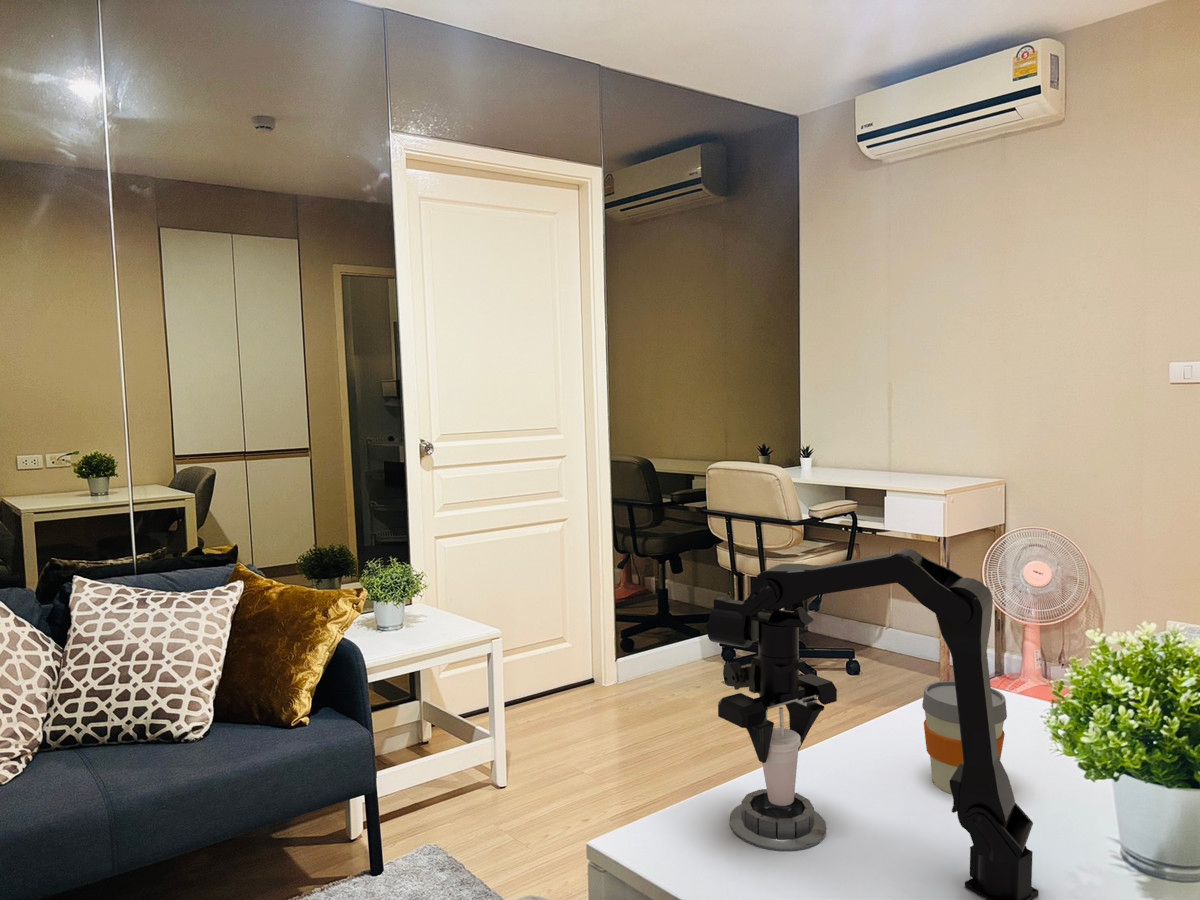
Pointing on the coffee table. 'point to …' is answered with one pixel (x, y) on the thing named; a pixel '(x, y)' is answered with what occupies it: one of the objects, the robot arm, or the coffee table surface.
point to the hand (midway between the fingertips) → (778, 756)
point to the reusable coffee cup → (951, 729)
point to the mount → (777, 823)
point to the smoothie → (782, 764)
